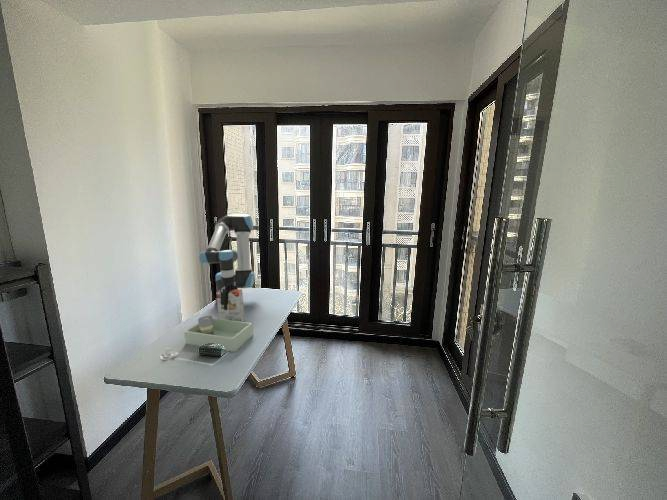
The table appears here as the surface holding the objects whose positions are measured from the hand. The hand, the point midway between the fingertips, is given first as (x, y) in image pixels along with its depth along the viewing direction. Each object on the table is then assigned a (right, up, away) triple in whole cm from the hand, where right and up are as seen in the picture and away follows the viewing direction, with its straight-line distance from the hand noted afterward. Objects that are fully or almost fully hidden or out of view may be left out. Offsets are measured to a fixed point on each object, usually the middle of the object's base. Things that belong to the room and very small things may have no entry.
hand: (231, 311), depth 170 cm
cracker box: (0, -7, +1) cm, 7 cm away
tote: (+1, -11, -19) cm, 22 cm away
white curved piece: (-18, -15, -36) cm, 43 cm away
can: (-7, -10, -17) cm, 21 cm away
